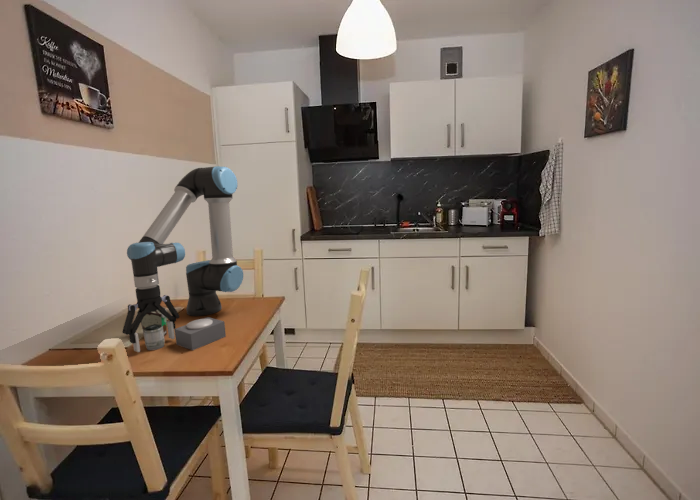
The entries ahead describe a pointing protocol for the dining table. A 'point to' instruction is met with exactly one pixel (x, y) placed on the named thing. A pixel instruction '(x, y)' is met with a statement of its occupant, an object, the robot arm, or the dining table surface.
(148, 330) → the camera lens
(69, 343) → the dining table surface
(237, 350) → the dining table surface
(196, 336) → the grey block with dome
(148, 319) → the food container
